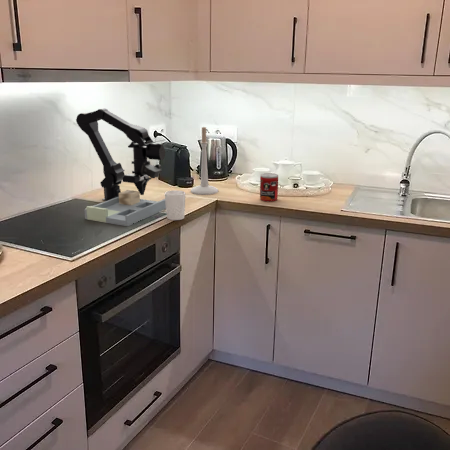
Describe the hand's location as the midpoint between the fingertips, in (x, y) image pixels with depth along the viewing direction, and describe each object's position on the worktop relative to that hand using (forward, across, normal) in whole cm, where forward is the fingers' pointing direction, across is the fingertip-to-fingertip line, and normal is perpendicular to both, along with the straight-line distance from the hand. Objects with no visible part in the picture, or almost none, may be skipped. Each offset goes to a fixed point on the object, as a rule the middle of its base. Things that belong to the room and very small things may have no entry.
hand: (142, 194), depth 217 cm
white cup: (+4, -13, -25) cm, 28 cm away
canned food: (+4, +29, -47) cm, 55 cm away
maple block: (+1, -9, 0) cm, 9 cm away
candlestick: (+4, +29, -15) cm, 33 cm away
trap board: (+3, -16, -5) cm, 17 cm away
